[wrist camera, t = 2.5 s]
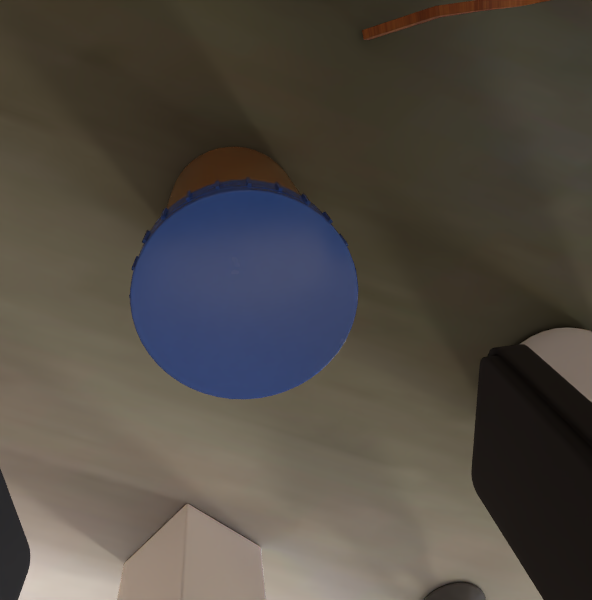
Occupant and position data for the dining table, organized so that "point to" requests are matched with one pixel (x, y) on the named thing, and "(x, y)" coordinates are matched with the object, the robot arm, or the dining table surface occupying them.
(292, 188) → the jar
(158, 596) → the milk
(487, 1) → the glasses
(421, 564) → the dining table surface
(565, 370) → the milk bottle
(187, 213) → the lid
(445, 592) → the sundae
